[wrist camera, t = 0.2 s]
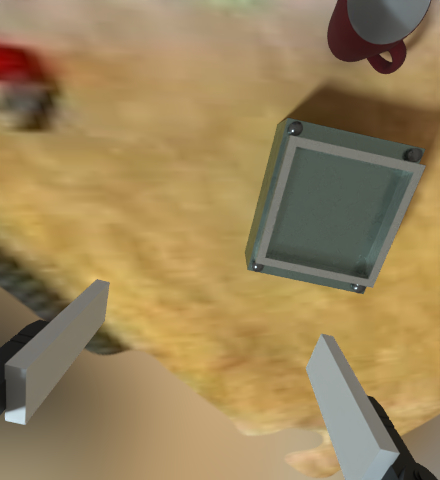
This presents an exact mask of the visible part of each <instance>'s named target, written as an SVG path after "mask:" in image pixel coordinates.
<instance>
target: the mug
mask: <svg viewBox="0 0 440 480" xmlns="http://www.w3.org/2000/svg"><path fill="white" fill-rule="evenodd" d="M430 3H431V0H338V1H337V4H336V6H335V9H334V12H333V14H332V17H331V20H330V23H329V27H328V33H327V38H328V45H329V48H330V50H331V52H332V53H333V55H334V56H335V57H337V58H338V59H340V60H342V61H346V62H355V61H359V60H362V59H365V58H367V60H368V61H369V63H370V64H371V65H372V67H373V68H374V69H375V70H376V71H378V72H379V73H382V74H390V73H392V72H394V71H396V70H397V69H398V68H400V67H401V65H402V64H403V62H404V61H405V58H406V46H405V44H404V42H403V39H404V38H405V37H407V36H408V35H409V34H410V33H412V32H413V31H414V30H415V29H416V27H417V26H418V25H419V24H420V22H421V21H422V20H423V18H424V16H425V15H426V13H427V11H428V8H429V6H430ZM385 51H389V52H390V54H391V56H392V62H389V61H387V60H385V59H384V58H382V57H381V56H380V55H379V54H380V53H383V52H385Z"/></svg>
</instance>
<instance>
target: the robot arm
mask: <svg viewBox="0 0 440 480" xmlns="http://www.w3.org/2000/svg"><path fill="white" fill-rule="evenodd" d="M109 284H110V282H106V281H102V280H98V279H97V280H96V281H95V282H93V283H92V284H91V285H90V286H89V287H88V288H87V289H86V290H85V291H84V292H83V293H82V294H80V295H79V296H78V297H77V298H76V299H75V300H74V301H73V302H72V303H71V304H70V305H68V306H67V307H66V308H65V309H64V310H63V311H62V312H61V313H60V314H59V315H58V316H57V317H55V318H54V319H53V320H52V321H51V322H47V321H43V320H38V321H36V322H33V323H31V324H29V325H27V326H26V327H25V328H23V329H22V330H21V331H20V332H19V333H18V334H17V335H15V336H14V337H13V338H11V339H10V341H8V342H7V343H5V344H4V345H3V346H2V347H1V348H0V415H1V414H2V412H3V411H4V410H5V420H6V421H10V422H15V423H20V424H24V425H25V424H26V423H27V422H28V420H29V419H30V418H31V416H32V415H33V414H34V412H35V411H36V410H37V408H38V407H39V406H40V405H41V403H42V402H43V401H44V399H45V398H46V397H47V395H48V394H49V393H50V391H51V390H52V389H53V388H54V386H55V385H56V384H57V382H58V381H59V380H60V378H61V377H62V376H63V374H64V373H65V372H66V371H67V369H68V368H69V367H70V365H71V364H72V363H73V361H74V360H75V359H76V357H77V356H78V355H79V354H80V352H81V351H82V350H83V348H84V347H85V346H86V344H87V343H88V342H89V341H90V339H91V338H92V337H93V335H94V334H95V333H96V331H97V330H98V329H99V327H100V326H101V325H102V324H103V322H104V321H105V314H106V306H107V299H108V291H109ZM306 371H307V373H308V376H309V379H310V382H311V385H312V388H313V390H314V393H315V396H316V399H317V402H318V404H319V407H320V410H321V413H322V416H323V419H324V421H325V424H326V427H327V430H328V433H329V436H330V438H331V441H332V444H333V447H334V450H335V452H336V455H337V458H338V461H339V464H340V467H341V469H342V472H343V475H344V478H345V480H438V479H437V478H436V477H435V476H434V475H433V474H432V473H431V472H430V471H429V470H428V469H427V468H425V467H423V466H422V465H420V464H419V463H416V462H415V460H414V459H413V457H412V455H411V454H410V452H409V450H408V449H407V447H406V445H405V444H404V442H403V440H402V439H401V437H400V435H399V434H398V432H397V430H396V429H394V425H393V424H392V422H391V420H389V417H388V416H387V414H386V412H385V411H384V409H383V407H382V406H381V405H380V404H379V403H378V402H377V401H376V400H375V399H374V398H373V397H371V396H367V395H366V393H365V392H364V390H363V388H362V386H361V384H360V383H359V381H358V379H357V377H356V376H355V374H354V372H353V370H352V369H351V367H350V365H349V363H348V362H347V360H346V358H345V356H344V355H343V353H342V351H341V349H340V348H339V346H338V344H337V342H336V341H335V339H334V337H333V336H329V335H325V334H321V335H320V338H319V340H318V342H317V344H316V347H315V349H314V351H313V353H312V355H311V358H310V360H309V362H308V364H307V367H306Z"/></svg>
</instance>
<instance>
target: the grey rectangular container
mask: <svg viewBox="0 0 440 480" xmlns="http://www.w3.org/2000/svg"><path fill="white" fill-rule="evenodd" d="M424 151H425V149H423V148H419V147H414V146H410V145H406V144H401V143H397V142H392V141H388V140H383V139H379V138H375V137H370V136H366V135H361V134H357V133H352V132H348V131H344V130H339V129H335V128H330V127H326V126H321V125H317V124H313V123H308V122H304V121H299V120H295V119H290V118H287V119H285V120H284V121H282V122H281V123H279V124H278V125H277V129H276V132H275V136H274V140H273V144H272V148H271V152H270V156H269V160H268V164H267V168H266V172H265V176H264V179H263V183H262V187H261V191H260V195H259V199H258V203H257V207H256V211H255V215H254V219H253V223H252V226H251V230H250V234H249V238H248V242H247V246H246V250H245V257H246V263H247V270H251V271H255V272H261V273H266V274H270V275H275V276H280V277H285V278H290V279H294V280H299V281H304V282H309V283H313V284H318V285H323V286H328V287H333V288H337V289H342V290H347V291H352V292H356V293H361V294H364V292H365V289H366V287H372V288H373V286H374V283H375V281H376V279H377V277H378V274H379V272H380V270H381V267H382V265H383V263H384V261H385V258H386V256H387V254H388V251H389V249H390V247H391V244H392V242H393V240H394V238H395V235H396V233H397V231H398V228H399V226H400V224H401V222H402V219H403V217H404V215H405V212H406V210H407V208H408V206H409V203H410V201H411V199H412V196H413V194H414V192H415V189H416V187H417V185H418V183H419V180H420V178H421V176H422V173H423V171H424V169H425V167H426V165H421V164H419V163H420V161H421V158H422V156H423V154H424Z"/></svg>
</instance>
